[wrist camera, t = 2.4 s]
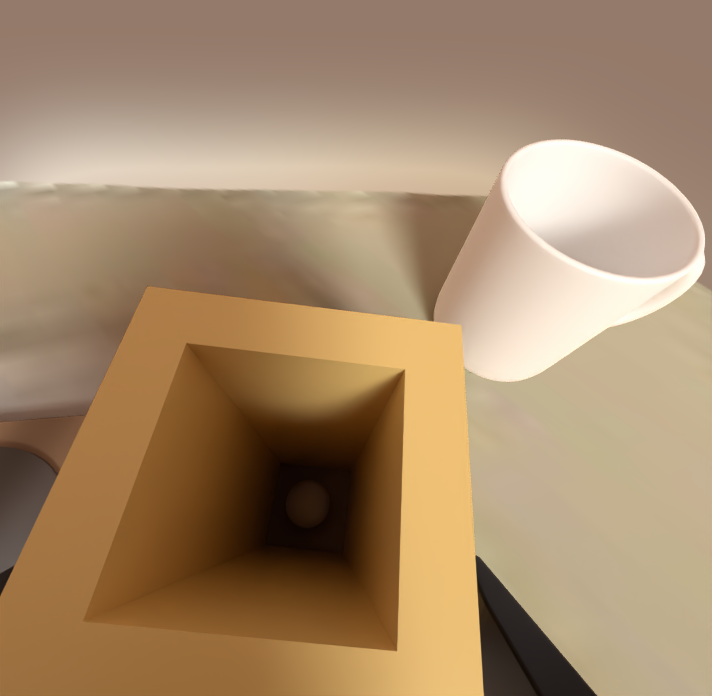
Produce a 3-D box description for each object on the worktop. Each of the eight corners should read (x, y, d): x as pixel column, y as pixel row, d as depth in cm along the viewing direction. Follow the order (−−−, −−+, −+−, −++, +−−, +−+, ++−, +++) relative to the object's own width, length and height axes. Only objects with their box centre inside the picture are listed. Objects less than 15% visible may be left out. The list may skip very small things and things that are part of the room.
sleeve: (363, 581, 15) (489, 785, 3) (237, 568, 15) (-69, 739, 3) (372, 452, 18) (461, 325, 6) (265, 440, 17) (147, 286, 6)
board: (374, 395, 20) (386, 365, 16) (408, 630, 15) (436, 669, 11) (-77, 433, 17) (-197, 407, 13) (-217, 738, 12) (-475, 843, 8)
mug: (588, 293, 25) (741, 161, 16) (619, 399, 21) (843, 307, 12) (429, 273, 25) (491, 127, 15) (431, 378, 21) (514, 266, 12)
